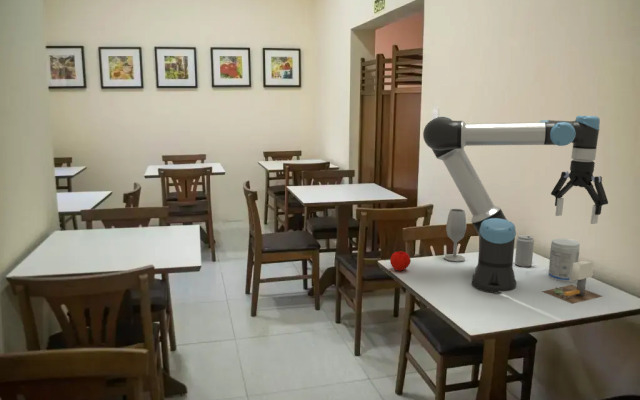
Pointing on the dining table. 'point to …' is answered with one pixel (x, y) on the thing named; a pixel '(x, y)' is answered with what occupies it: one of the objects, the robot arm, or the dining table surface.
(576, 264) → the beige block on post
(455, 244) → the wineglass
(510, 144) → the robot arm
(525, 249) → the beverage can
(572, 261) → the supplement tub
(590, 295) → the base
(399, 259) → the apple
